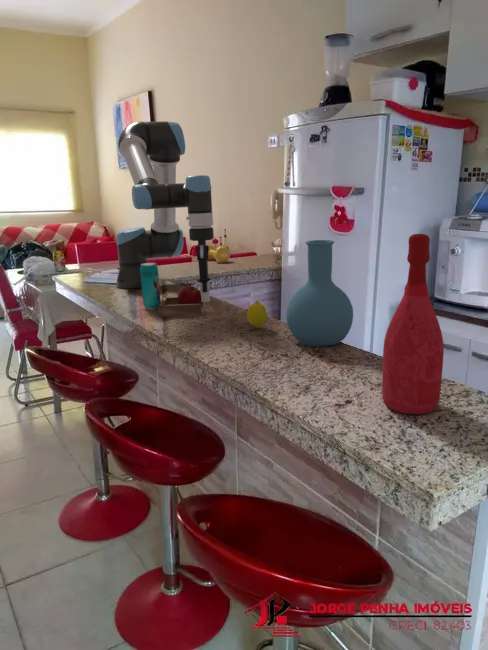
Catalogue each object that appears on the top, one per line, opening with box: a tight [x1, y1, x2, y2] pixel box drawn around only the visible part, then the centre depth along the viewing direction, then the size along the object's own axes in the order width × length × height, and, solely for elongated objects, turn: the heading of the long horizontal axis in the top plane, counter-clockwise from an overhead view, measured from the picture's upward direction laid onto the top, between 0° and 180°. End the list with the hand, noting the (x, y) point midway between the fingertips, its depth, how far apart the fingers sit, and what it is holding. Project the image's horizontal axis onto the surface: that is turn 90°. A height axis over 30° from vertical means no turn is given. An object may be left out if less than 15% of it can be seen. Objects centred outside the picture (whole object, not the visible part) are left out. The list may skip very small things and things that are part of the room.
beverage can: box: [140, 262, 162, 311], centre depth 167 cm, size 6×6×15 cm
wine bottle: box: [381, 233, 445, 415], centre depth 85 cm, size 10×10×30 cm
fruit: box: [246, 300, 268, 329], centre depth 140 cm, size 6×6×8 cm
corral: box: [157, 296, 204, 318], centre depth 163 cm, size 13×13×4 cm
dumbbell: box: [208, 244, 231, 264], centre depth 271 cm, size 19×9×8 cm, turn 33°
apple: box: [177, 285, 201, 304], centre depth 164 cm, size 8×8×8 cm
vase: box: [285, 239, 354, 347], centre depth 124 cm, size 16×17×25 cm
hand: (205, 301), depth 163 cm, fingers closed
